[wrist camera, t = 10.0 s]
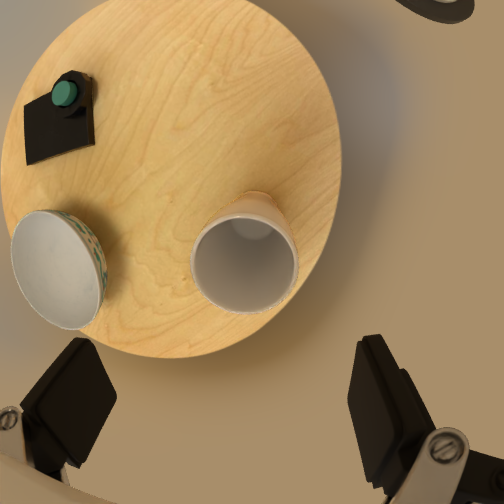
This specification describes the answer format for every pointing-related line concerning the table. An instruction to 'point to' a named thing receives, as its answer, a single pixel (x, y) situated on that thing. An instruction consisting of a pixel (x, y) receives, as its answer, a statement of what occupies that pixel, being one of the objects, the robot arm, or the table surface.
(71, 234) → the chinaware
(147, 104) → the table surface
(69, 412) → the robot arm
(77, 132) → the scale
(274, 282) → the white tall cup
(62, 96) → the tare button
